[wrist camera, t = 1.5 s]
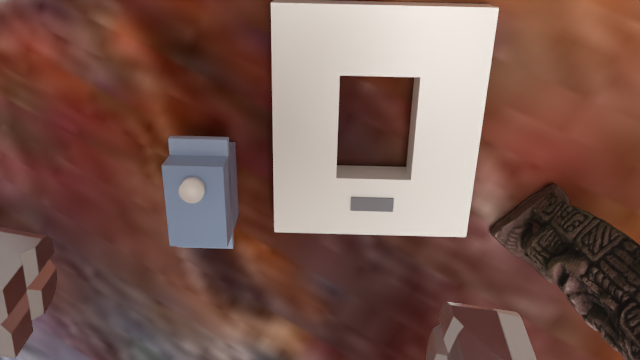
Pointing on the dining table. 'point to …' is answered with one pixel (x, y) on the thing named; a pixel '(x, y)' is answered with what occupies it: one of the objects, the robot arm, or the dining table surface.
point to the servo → (201, 191)
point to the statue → (580, 263)
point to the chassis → (425, 124)
